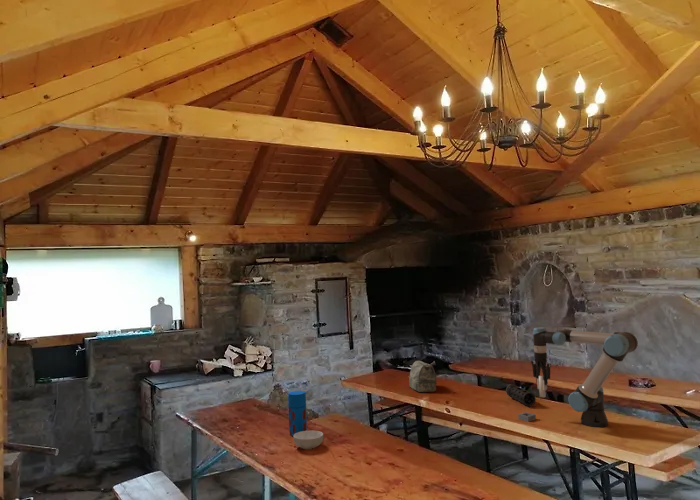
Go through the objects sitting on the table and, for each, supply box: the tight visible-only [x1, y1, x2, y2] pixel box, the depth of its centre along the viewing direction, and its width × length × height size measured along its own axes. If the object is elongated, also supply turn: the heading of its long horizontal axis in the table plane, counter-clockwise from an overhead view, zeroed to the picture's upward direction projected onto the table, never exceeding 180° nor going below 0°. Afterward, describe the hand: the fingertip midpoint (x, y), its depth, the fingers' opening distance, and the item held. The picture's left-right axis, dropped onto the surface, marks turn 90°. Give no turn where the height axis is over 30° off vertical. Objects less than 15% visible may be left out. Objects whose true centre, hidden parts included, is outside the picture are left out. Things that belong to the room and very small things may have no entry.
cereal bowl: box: [293, 429, 324, 450], centre depth 290 cm, size 17×17×7 cm
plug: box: [538, 374, 547, 398], centre depth 325 cm, size 4×4×13 cm
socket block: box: [517, 411, 537, 423], centre depth 326 cm, size 7×7×3 cm
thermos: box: [287, 390, 308, 437], centre depth 315 cm, size 11×11×25 cm
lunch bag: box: [408, 360, 438, 393], centre depth 417 cm, size 26×18×22 cm
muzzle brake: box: [505, 384, 537, 408], centre depth 366 cm, size 10×28×10 cm, turn 8°
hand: (542, 389), depth 325 cm, fingers closed on plug, 3 cm apart
